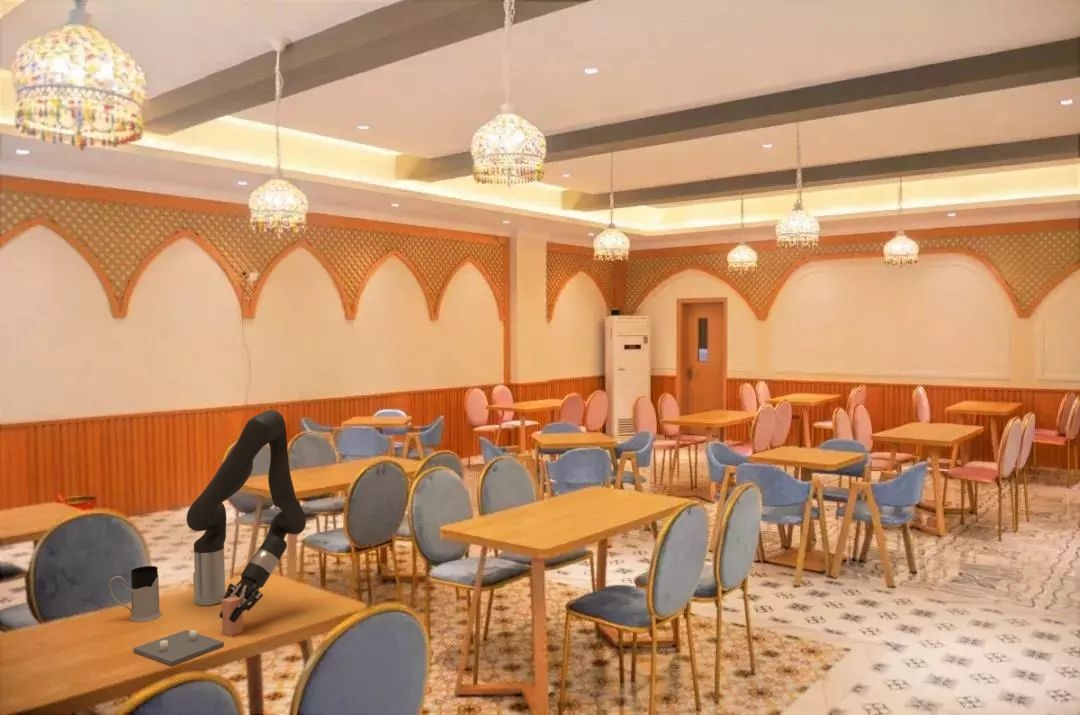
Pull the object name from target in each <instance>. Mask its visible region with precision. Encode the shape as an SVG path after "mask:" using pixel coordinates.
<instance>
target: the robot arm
mask: <svg viewBox="0 0 1080 715" xmlns="http://www.w3.org/2000/svg"><path fill="white" fill-rule="evenodd" d="M266 445H269V450H270V459H269V469H268V476H267V479H268V486H269V487H268V488H269V492H270V495H271V499H272V504H273V505H274V506H275V507H276V508H278V509H280V511H279V512H278V513H277V514H276V515H275V516H274V517H273V519H272V521H271V523H270V525H269V529H268V532H267V534H266V537H265V539H264V540H263V542H262V543H261V545H260V546H259V548H258V549H257V550H256V552H254V554H253V556H252V558H251V559H250V560H249V562H248V563H247V565H246V566H245V568H244V569H243V570H242V572H241V573H240V577H241V579H240V580H239V581H238V582H237V583H236V584H233V583H229V585H228V587H227V589H226V572H225V571H226V569H225V564H226V563H225V542H226V537H227V510H226V507H225V504H224V502H225V501H227V500H228V499H229V498H231V497H233V496H234V495H235V494H236V493H238V492H239V491H240V490H241V489H242V488H243V487H244V486H245V484H246V482H247V481H248V479H249V478H250V476H251V475H252V472H253V470H254V459H255V458H256V456H257V455H258V453H260V451H261V450H262V449H263V447H265V446H266ZM305 514H306V513H305V512H304V510H303V507H302V505H301V504H300V502H299V500H298V498H297V496H296V493H295V487H294V484H293V480H292V475H291V468H290V461H289V450H288V435H287V426H286V421H285V419H284V417H283V415H282V414H281V413H280V412H279V411H277V410H274V409H269V410H266V411H263V412H261V413H259V414H257V415H254V416H252V417H251V418H250V419H248V421H247V422H246V424H245V425H244V427H243V429H242V431H241V434H240V435H239V437H238V439H237V441H236V443H235V445H234V446H233V447H232V449H231V450H230V451H229V453H228V454H227V456H226V457H225V459H224V460H223V462H222V463H221V465H220V466H219V468H218V469H217V471H216V473H215V475H213V477H212V479H211V480H210V481H209V483H208V485H207V486H206V488H204V490H203V491H202V493H201V494H200V495H199V496H198V497H197V498H196V500H194V502H193V503H192V504H191V505H190V507H189V509H188V511H187V513H186V523H187V526H188V529H191V531H195V532H204V533H203V535H202V536H200V537H199V538H198V539H197V540H196V541H194V544H193V562H194V563H193V565H194V566H193V567H194V571H193V576H192V578H193V579H192V580H193V582H192V583H193V601H194V602H195V605H197V606H212V605H218V604H220V603H221V604H222V600H223V599H226V598H229V597H234V596H235V597H239V599H240V601H239V603H238V605H237V607H238V608H235V610H234V611H233V613H232V614H231V616H230V617H229V620H230V621H232V622H236V620H237V619H238V617H239V616H240V615H241V613H242V614H243V612H245V611H247V612H248V611H250V610H251V609H252V608H253V607H254V606H255V605H256V604H257V603H258V602H259V601H260V600H261V598H262V597H263V596H264V594H263V593H262V592H261V591H260V588H263V587H264V586H265V585H266V583H267V581H268V579H269V578H270V576H271V575H272V574H273V573H274V570H275V568H276V566H277V564H278V563H279V561H280V559H281V557H282V556H283V555H284V553H285V551H286V549H287V547H288V543H287V542H286V540H285V538H286V536H287V535H294V536H295V535H299V534H301V533H302V532H304V530H305V528H306V525H307V519H306V515H305ZM218 617H219V618H220V619H222V610H221V611H220V613H219V615H218Z"/></svg>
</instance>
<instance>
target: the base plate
mask: <svg viewBox="0 0 1080 715" xmlns="http://www.w3.org/2000/svg"><path fill="white" fill-rule="evenodd" d="M223 647H225V642H224V641H221V640H219V639H215V638H212V637H209V636H205V635H203V634H199V633H198V630H197V629H192V630H186V629H185V630H183V631H182V630H181V631H178V632H176V633H173V634H170V635H168V636H164V637H162V638H159V639H156V640H153V641H150V642H146V643H144V644H141V645H138V646H135V647H133V650H132V651H133V653H134V654H138V655H139V656H143V657H146V658H149V659H152V660H154V661H157V662H159V663H163V664H165V665H168V666H170V667H173V666H176V665H178V664H181V663H183V662H186V661H188V660H189V661H190V660H191V659H194V658H196V657H199V656H201V655H205V654H207V653H210V652H212V651H216V650H218V649H221V648H223Z"/></svg>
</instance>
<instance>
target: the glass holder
mask: <svg viewBox="0 0 1080 715" xmlns="http://www.w3.org/2000/svg"><path fill="white" fill-rule="evenodd" d="M158 572H159V570H158V566H156V565H155V566H154V565H144V566H140V567H136V568H132V569H131V570H130V575H131V576H130V577H131V580H130V581H131V587H127V584H126V580H125V578H124V577H122V576H120V575H118V576H117V575H116V576H114V577H112V578H111V579H110V581H109V592H110V594H111V596H112V598H113V599H114V601H115V602H117V603H118V604H120V605H121V606H122V607H124V608H126V609H128V610H129V611H130V614H131V616H130V619H129V620H130V621H131V622H135V623H142V622H150V621H154V620H156V619H159V618H160V617H162V613H161V611H160V584H159V573H158ZM116 578H117V579H118V578H119V579H121V580H122V581H123V583H124V585H123V586H124V588H125V590H130V594H131V595H130V600H131V603H130V604H131V608H130V607H129V606H127V605H126V604H124V603H122V602H121V601H119V600H118V599H117V598H116V597H115V595H114V593H113V591H112V581H113V580H114V579H116Z"/></svg>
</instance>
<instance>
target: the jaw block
mask: <svg viewBox="0 0 1080 715" xmlns="http://www.w3.org/2000/svg"><path fill="white" fill-rule="evenodd" d="M239 601H240V599H239V597H237V596H236V595H235V596H234V597H228V598H226V599H223V600H222V602H221V611H222V618H221V619H222V620H221V621H222V634H223V635H227V636H230V637H233V636H235V635H238V634H242V633H244V624H243V623H244V622H243V621H244V618H243V616H244V615H243V612H242V613H241V615H240V616H239V617H238V619H237V620H236V622H232V621H230V620H229V617H230V616H231V614H232V613H233V611H234V610H235V608H238V607H237V605H238V603H239Z"/></svg>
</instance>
